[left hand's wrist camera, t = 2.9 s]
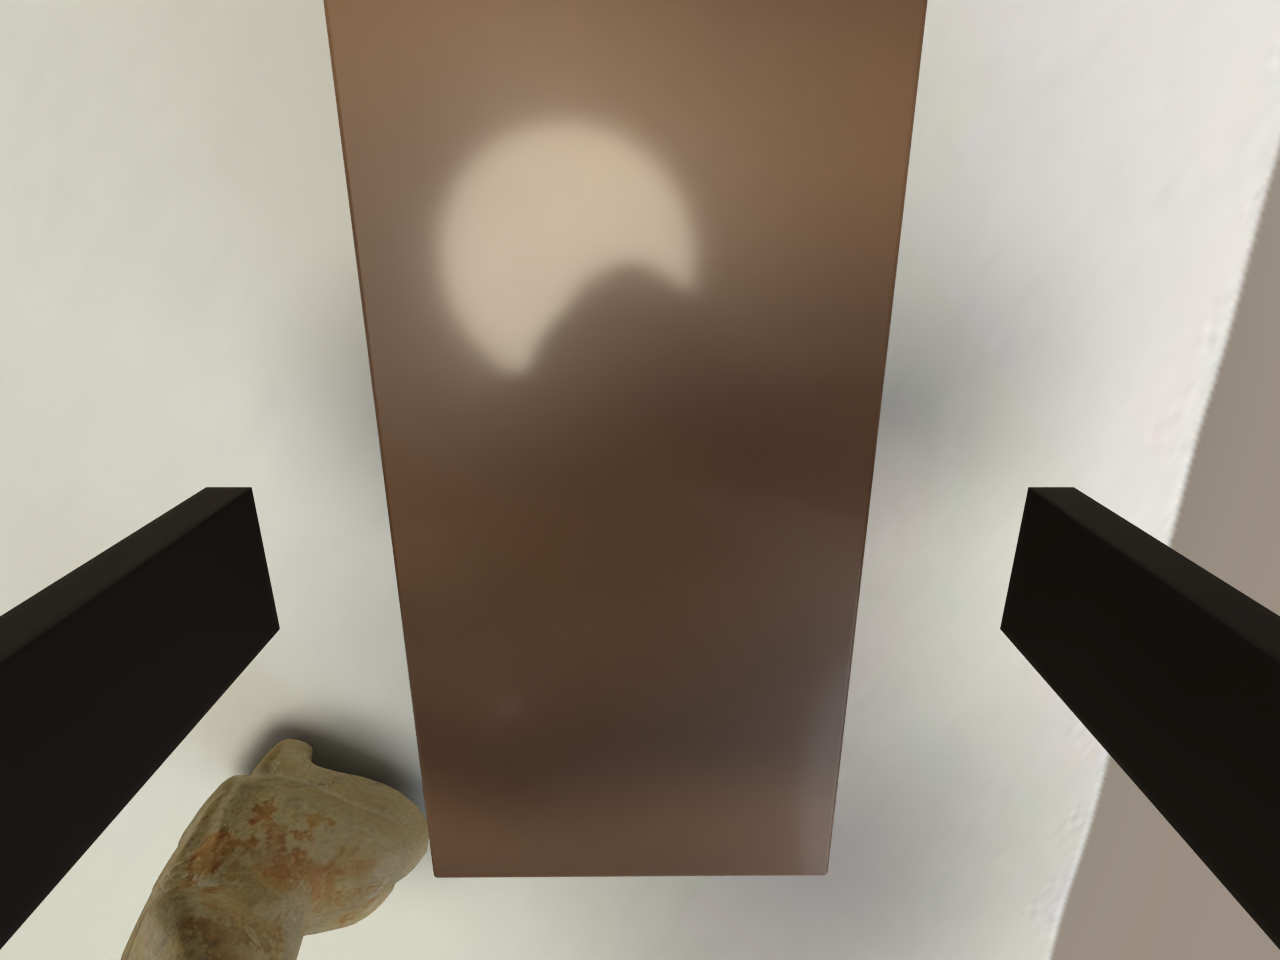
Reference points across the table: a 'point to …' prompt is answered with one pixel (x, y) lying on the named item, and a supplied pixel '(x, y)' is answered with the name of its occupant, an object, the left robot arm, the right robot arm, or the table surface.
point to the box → (627, 407)
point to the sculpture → (279, 862)
